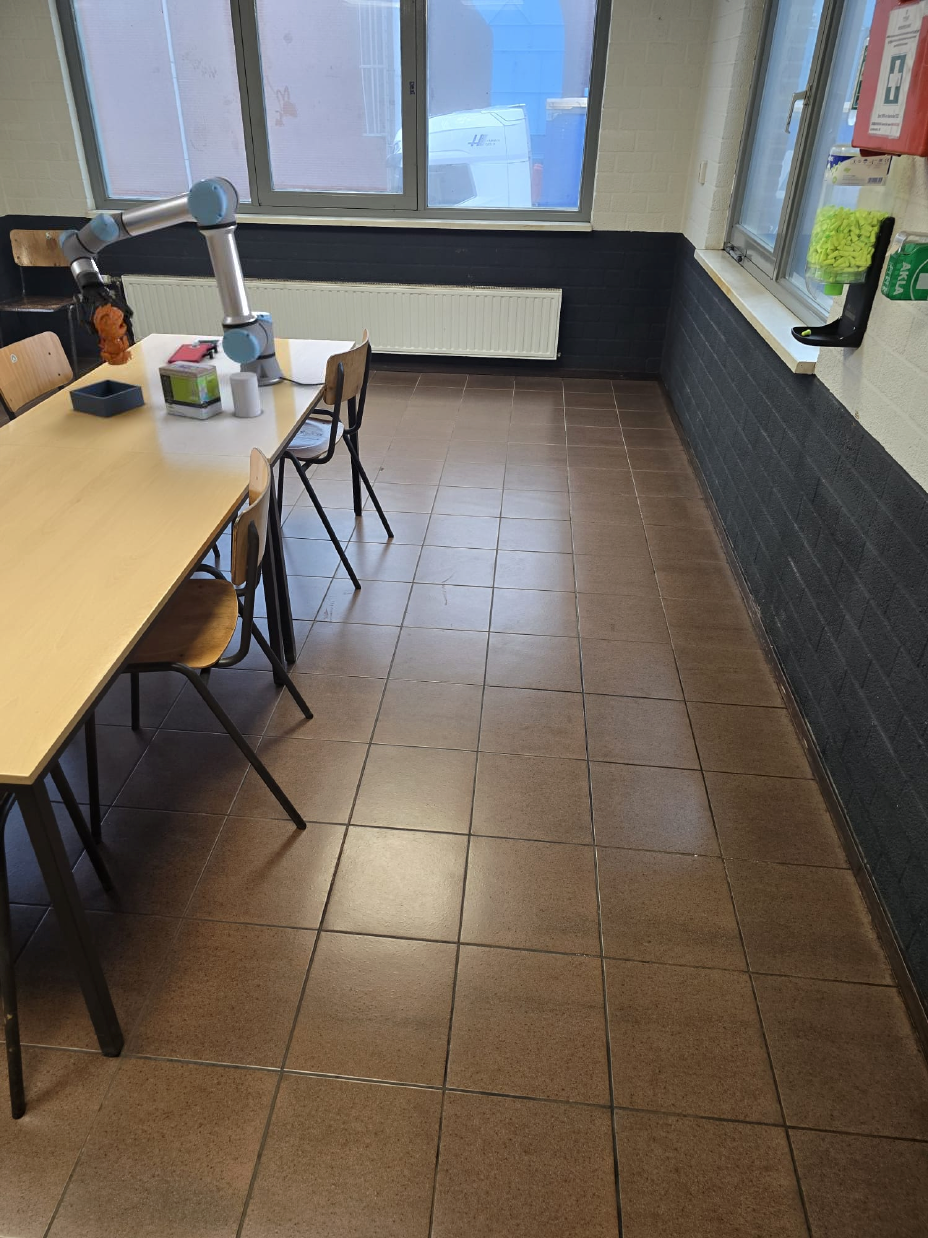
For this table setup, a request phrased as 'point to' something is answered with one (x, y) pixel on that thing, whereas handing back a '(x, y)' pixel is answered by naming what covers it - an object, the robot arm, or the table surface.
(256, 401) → the cup
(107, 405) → the crate
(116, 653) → the table surface
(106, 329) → the orange monster figurine
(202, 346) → the red board with handle
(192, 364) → the tea box
